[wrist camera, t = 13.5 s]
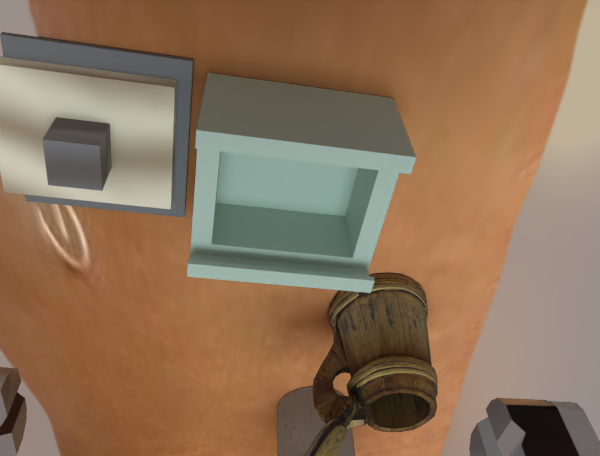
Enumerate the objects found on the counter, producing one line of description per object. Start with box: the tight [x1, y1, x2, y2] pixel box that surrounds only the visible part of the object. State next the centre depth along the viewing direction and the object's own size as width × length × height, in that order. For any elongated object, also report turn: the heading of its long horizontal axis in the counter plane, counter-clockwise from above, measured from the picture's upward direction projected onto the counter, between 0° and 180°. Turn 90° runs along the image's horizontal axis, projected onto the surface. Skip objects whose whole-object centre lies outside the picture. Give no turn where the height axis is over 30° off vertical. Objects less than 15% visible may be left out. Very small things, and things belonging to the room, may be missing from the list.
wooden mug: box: [304, 273, 438, 456], centre depth 47 cm, size 9×14×18 cm, turn 90°
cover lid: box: [0, 57, 177, 209], centre depth 39 cm, size 10×12×4 cm
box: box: [187, 73, 416, 293], centre depth 40 cm, size 11×13×8 cm
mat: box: [0, 32, 193, 217], centre depth 41 cm, size 13×12×1 cm
